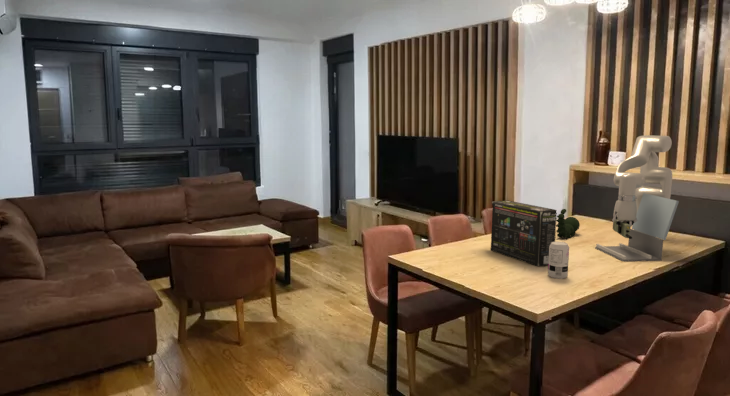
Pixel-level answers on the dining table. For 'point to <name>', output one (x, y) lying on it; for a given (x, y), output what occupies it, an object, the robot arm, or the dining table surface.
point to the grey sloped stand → (636, 248)
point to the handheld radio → (623, 229)
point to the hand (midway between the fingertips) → (623, 233)
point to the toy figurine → (566, 225)
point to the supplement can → (558, 260)
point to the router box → (523, 231)
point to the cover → (655, 215)
